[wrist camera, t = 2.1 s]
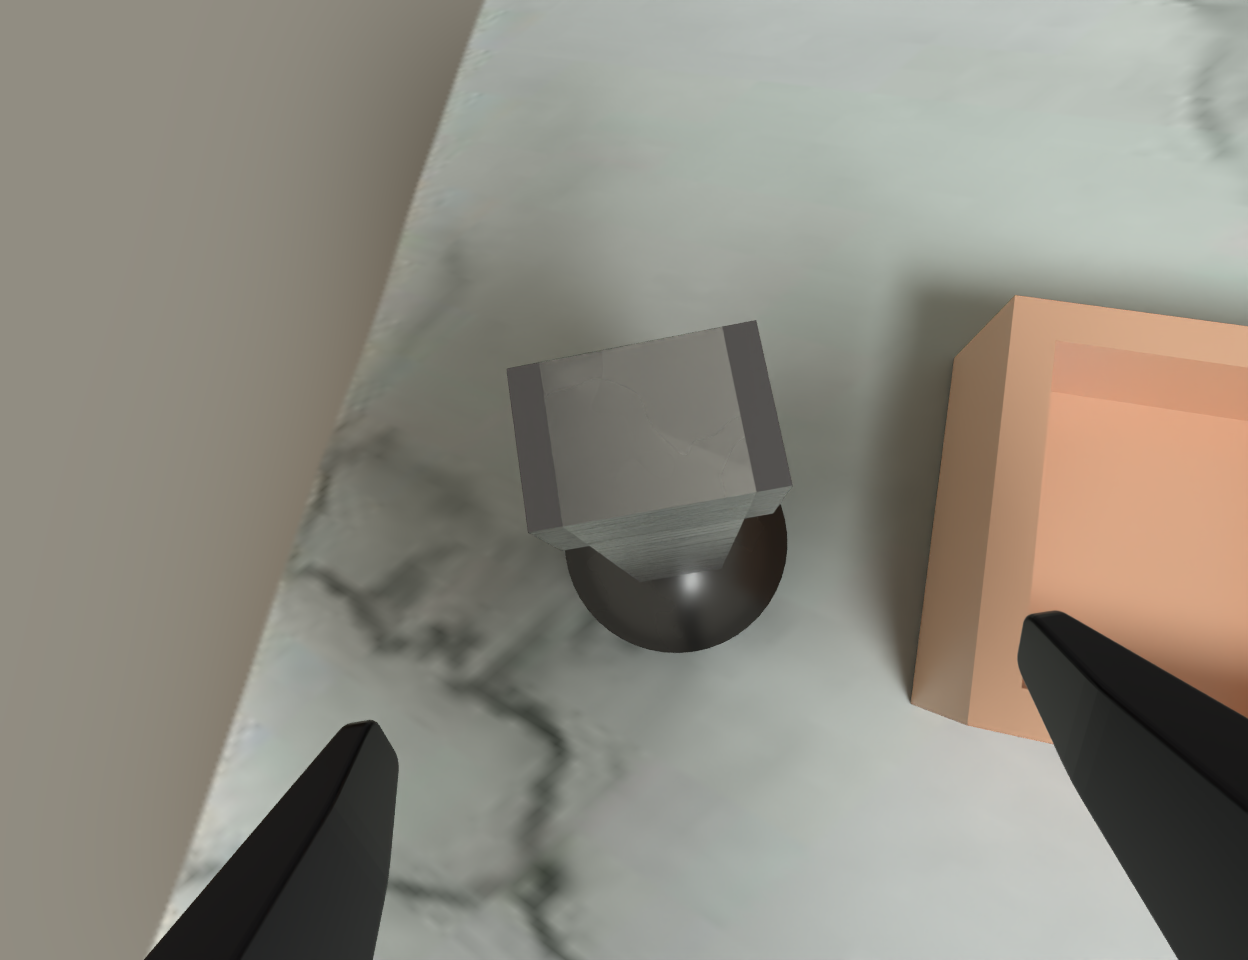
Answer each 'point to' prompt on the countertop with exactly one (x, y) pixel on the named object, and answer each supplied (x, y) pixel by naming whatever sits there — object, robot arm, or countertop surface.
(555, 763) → the countertop surface
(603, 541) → the grey stamp
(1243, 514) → the peach square open box
